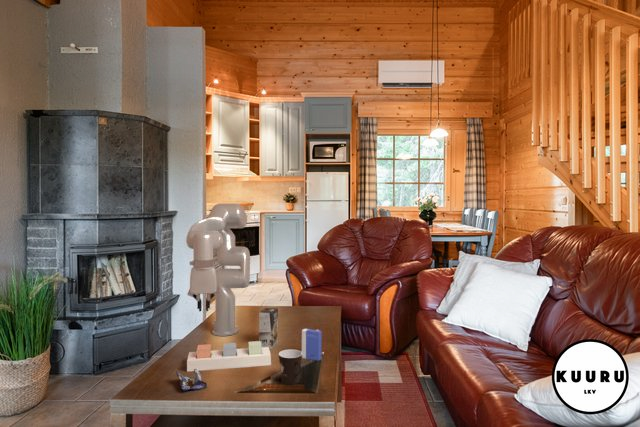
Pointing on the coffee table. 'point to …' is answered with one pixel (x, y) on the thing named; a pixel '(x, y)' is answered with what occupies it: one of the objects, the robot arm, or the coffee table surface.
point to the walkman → (311, 344)
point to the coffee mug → (290, 365)
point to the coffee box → (268, 327)
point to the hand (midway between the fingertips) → (203, 310)
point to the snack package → (196, 382)
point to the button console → (228, 360)
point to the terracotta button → (204, 351)
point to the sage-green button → (254, 348)
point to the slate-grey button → (229, 349)
